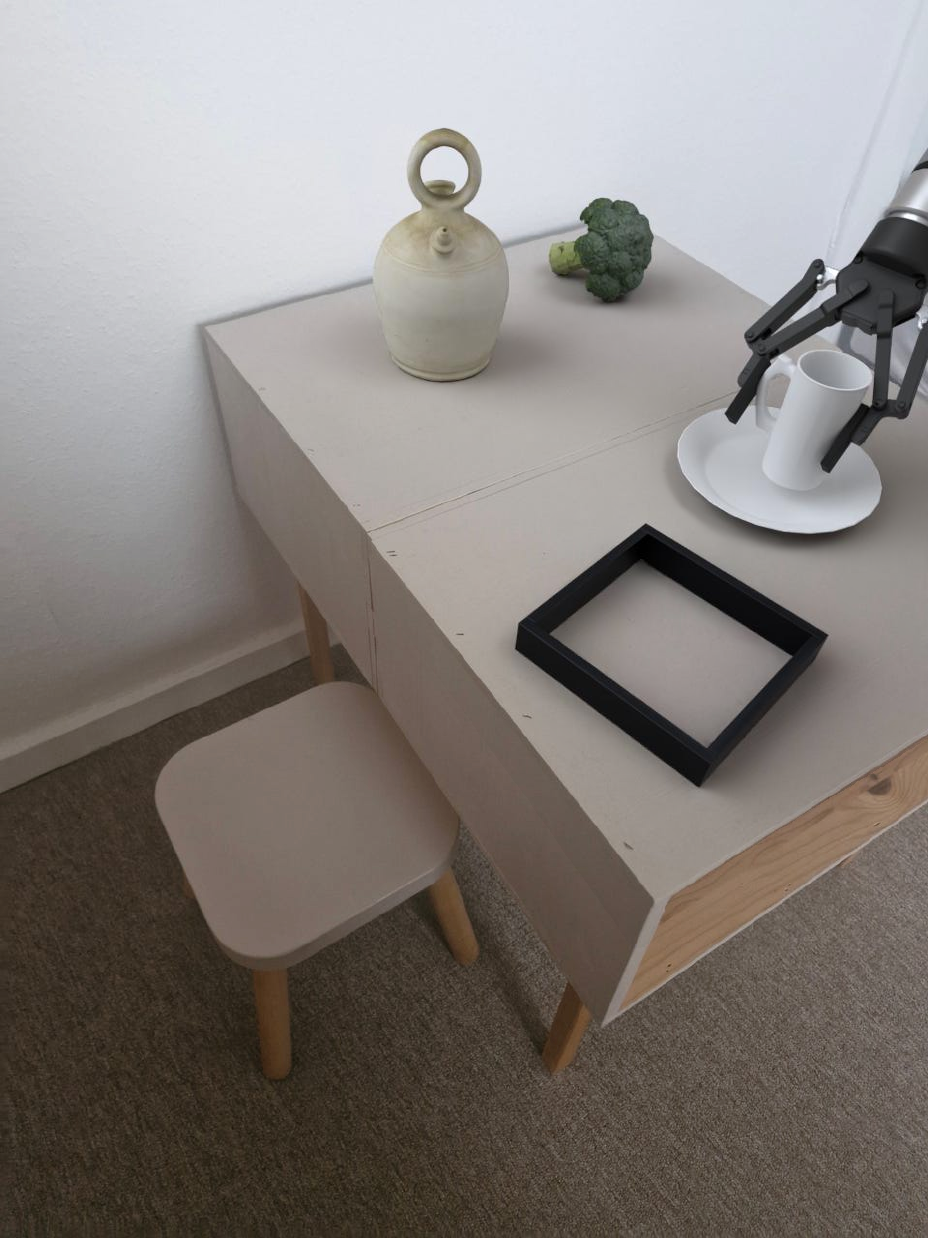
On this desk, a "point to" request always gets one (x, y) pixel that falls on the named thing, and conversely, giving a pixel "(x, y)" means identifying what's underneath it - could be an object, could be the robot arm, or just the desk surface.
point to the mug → (809, 413)
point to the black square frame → (625, 706)
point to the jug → (441, 274)
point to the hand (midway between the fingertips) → (776, 443)
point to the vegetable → (608, 248)
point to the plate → (737, 484)
